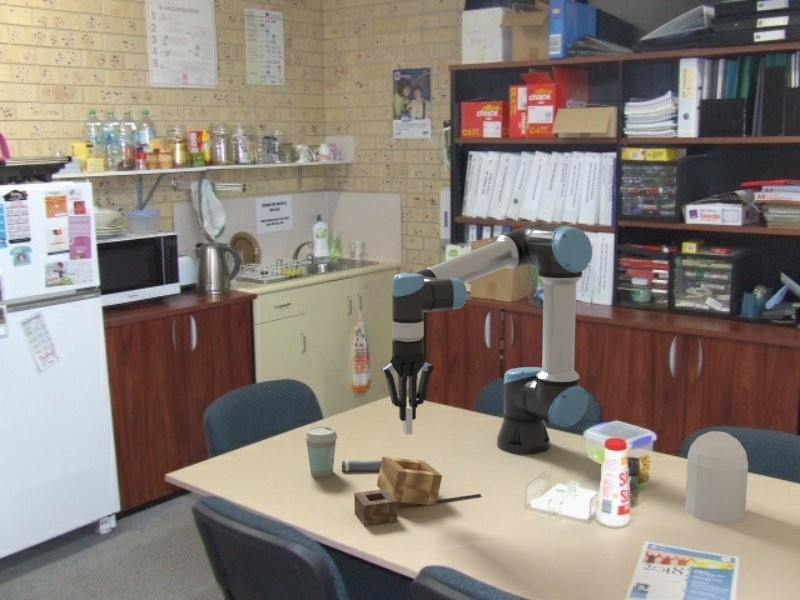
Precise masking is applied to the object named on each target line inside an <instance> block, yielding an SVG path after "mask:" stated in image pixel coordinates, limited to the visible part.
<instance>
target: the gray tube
mask: <svg viewBox="0 0 800 600" xmlns="http://www.w3.org/2000/svg"><path fill="white" fill-rule="evenodd" d="M381 462H382V460H342V461H341V472H380V467H381Z"/></svg>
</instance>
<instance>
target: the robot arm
mask: <svg viewBox="0 0 800 600" xmlns="http://www.w3.org/2000/svg"><path fill="white" fill-rule="evenodd" d="M592 257H593V246H592V242H591V240H590V237H589V236H588V235H587V234H586V233H585V232H584V231H583V230H582V229H580V228H578V227H574V226H570V225H559V224H558V225H557V224H545V223H534V224H530V225H526V226H523V227H520V228H517V229H515V230H512V231H510V232H506V233H504V234H503V235H502V234H501V235H499V236H498V237H497V238H496V240H495V241H494V242H492V243H489V244H486V245H484V246H481V247H478V248H476V249H473V250H471V251H468V252H466V253H462V254H460V255H458V256H456V257H453V258H449V259H448V260H445V261H443V262H440V263H438V264H435V265H433V266H432V265H431V266H429V267H427V268H424V269H421V270H418V271H415V272H410V271H409V272H408V271H407V272H401V273H397V274H396V275H394V276H393V278H392V286H391V290H392V291H391V298H392V299H391V300H392V301H391V302H392V303H391V304H392V305H391V306H392V307H391V308H392V311H391V313H392V315H391V316H392V317H391V318H392V320H391V321H392V330H391V331H392V333H391V334H392V335H391V336H392V337H393V339H392V341H391V344H392V345H391V351H392V355H391V356H392V358H390V359H391V360H389V361H390V362H389V364H388V365H386V366H383V367H381V372H382V374H383V375H384V376H385V380H386V383H387V384H386V385H387V389H388V392H389V396H390V400H391V403H392V404H393V406H395V407H398V408H399V410H398V413H399V415H398V417H399V420H400V421H401V422H402V432H403V433H404V434H405V435H406V436H407V435H413V420H414V421H415V420H416V418H417V416H416V415H417V414H416V413H417V408H418V407H419V405H423V404H424V401H425V397H426V393H427V389H428V384H429V380H430V376H431V374H432V372H433V371H434V368H435V367H434V366H433V365H432V364H430V363H428V362H426V359H425V357H424V339H423V337H424V336H425V335H424V333H425V332H424V330H425V329H424V328H425V327H424V325H425V323H424V319H425V318H424V317H425V313H429V312H438V311H439V312H441V311H453V310H456V309H461V308H462V307H464V305H465V304H466V301H467V300H468V290H467V286H466V284H468V283H470V282H473V281H476V280H478V279H480V278H483V277H485V276H488V275H490V274H493V273H495V272H498V271H500V270H503V269H505V268H506V269H510V270H513V269H515V268H518V267H521V266H522V267H523V266H530V267H531V266H533V267H538V269H537V277H538V278H539V279H540V280H541V281H542V282H543V299H542V301H543V303H542V304H543V306H542V355H541V356H542V358H541V367H538V366H526V367H525V366H524V367H516V368H510V369H508V370H507V371H505V373H504V378H503V383H502V384H503V419H502V423H501V426H500V429H499V432H498V435H497V437H496V446H497V448H498V449H499V450H501V451H504V452H507V453H511V454H515V455H516V454H517V455H537V454H542V453H545V452H546V451H548V450H549V449H550V447H551V446H550V442H551V440H550V437H549V434H548V430H547V426H546V423H545V422H547V423H550V424H552V425H554V426H560V427H565V428H566V427H567V428H570V427H572V426H573V425H576V424H577V423H578V422H579V421H580V420H581V419H582V417H584V416H585V413H586V412H587V409H588V405H589V396H588V394H587V392H586V390H585V389H584V388H583V387H581V385H580V380H581V379H580V375H579V373H578V372H576V371H575V370H576V369H575V348H576V347H575V345H576V342H575V341H576V309H577V307H576V306H577V305H576V302H577V283H578V282H579V281H580V279H582V278H583V271H585V270H586V269H587V268H588V267H589V264H590V263H591V261H592ZM421 370H422V371H421ZM394 371H395V372H396V373H397V378H398V392H397V387H396V383H395V379H394V376H393V374H394ZM420 371H421V375H420V378H419V383H418V384H417V382H418V374H419V373H420ZM407 382H408V383H407ZM417 385H418V386H417ZM407 386H408V389H407ZM417 387H418V388H417ZM407 391H408V395H407ZM407 396H408V397H407ZM407 399H408V401H407ZM407 402H408V405H407Z"/></svg>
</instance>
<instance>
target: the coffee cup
mask: <svg viewBox="0 0 800 600" xmlns="http://www.w3.org/2000/svg"><path fill="white" fill-rule="evenodd" d="M304 439H305V441H306V448H307V454H308V461H309V469H310V471H309V472H310V475H311V476H312V477H315V478H326V477H330V476H331V475H333V473H334V466H335V453H336V445H337V439H338V435H337V431H336V429H334V428H333V427H330V426H315V427H311V428H308V429H307V431H306V433H305V437H304Z"/></svg>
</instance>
